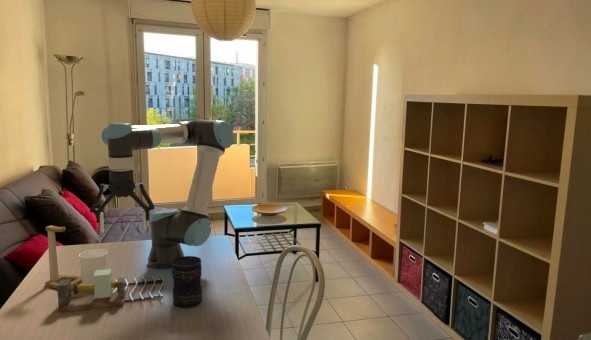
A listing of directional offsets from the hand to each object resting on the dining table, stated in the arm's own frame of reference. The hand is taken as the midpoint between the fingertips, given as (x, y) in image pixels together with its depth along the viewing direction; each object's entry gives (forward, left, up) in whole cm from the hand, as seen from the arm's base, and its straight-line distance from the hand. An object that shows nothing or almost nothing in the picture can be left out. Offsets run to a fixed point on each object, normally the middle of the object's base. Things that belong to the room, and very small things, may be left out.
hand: (124, 230), depth 144 cm
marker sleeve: (+7, +1, -21) cm, 23 cm away
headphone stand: (+24, -19, -25) cm, 40 cm away
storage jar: (-20, +8, -25) cm, 33 cm away
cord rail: (+11, +1, -25) cm, 27 cm away
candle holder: (+13, -16, -25) cm, 33 cm away
